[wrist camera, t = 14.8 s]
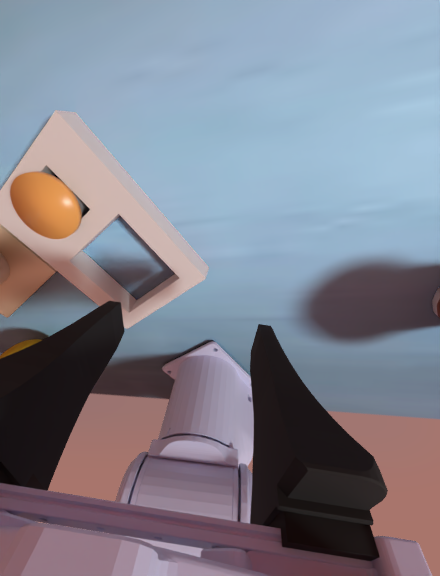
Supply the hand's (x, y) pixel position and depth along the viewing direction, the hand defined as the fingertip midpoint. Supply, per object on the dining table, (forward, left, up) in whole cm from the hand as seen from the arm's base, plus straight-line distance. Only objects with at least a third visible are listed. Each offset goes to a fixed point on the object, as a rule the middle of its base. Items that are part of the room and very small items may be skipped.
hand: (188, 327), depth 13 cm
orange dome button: (+10, +6, -9) cm, 15 cm away
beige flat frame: (+6, +6, -9) cm, 13 cm away
